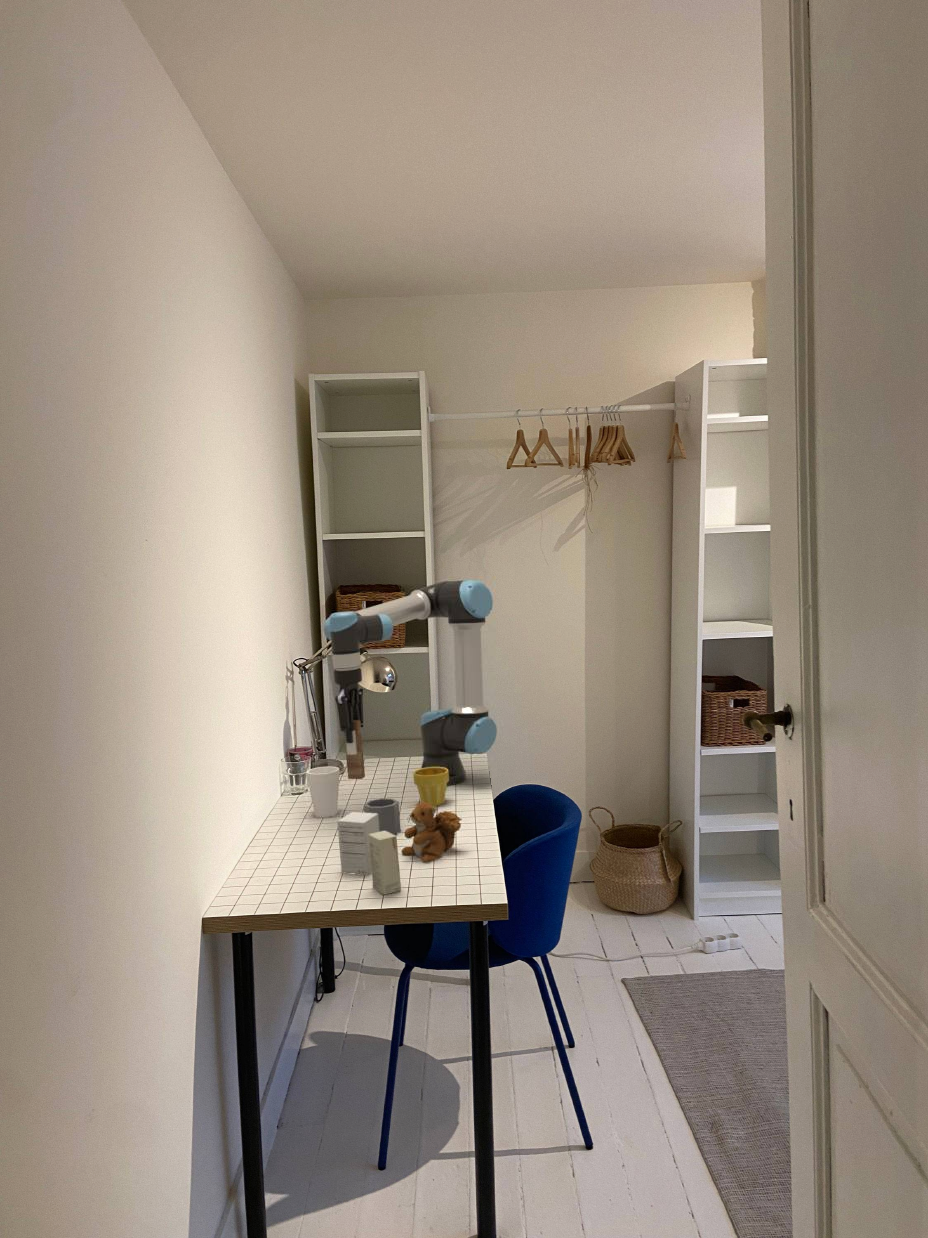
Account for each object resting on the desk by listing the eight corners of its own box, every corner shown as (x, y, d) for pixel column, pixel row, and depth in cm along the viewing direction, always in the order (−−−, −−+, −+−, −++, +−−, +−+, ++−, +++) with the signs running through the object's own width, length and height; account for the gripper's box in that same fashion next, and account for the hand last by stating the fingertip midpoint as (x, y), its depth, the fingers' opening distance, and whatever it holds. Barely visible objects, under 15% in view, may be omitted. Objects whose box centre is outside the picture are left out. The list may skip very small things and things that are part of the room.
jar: (375, 827, 241) (373, 798, 240) (404, 828, 238) (402, 799, 237) (361, 837, 232) (359, 807, 232) (392, 838, 230) (389, 808, 229)
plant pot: (428, 810, 253) (426, 777, 253) (408, 803, 262) (406, 771, 261) (457, 803, 259) (455, 770, 259) (437, 796, 268) (435, 765, 267)
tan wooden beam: (351, 776, 245) (347, 720, 244) (365, 776, 244) (360, 719, 243) (348, 779, 243) (343, 721, 242) (361, 779, 242) (356, 721, 240)
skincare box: (401, 891, 192) (398, 836, 191) (383, 896, 190) (379, 840, 189) (389, 882, 198) (385, 829, 197) (371, 887, 196) (367, 833, 195)
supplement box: (355, 862, 213) (351, 811, 212) (382, 865, 210) (379, 812, 209) (340, 873, 206) (336, 820, 205) (368, 876, 203) (364, 822, 202)
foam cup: (335, 819, 250) (332, 774, 250) (305, 819, 252) (301, 774, 251) (346, 809, 260) (343, 766, 259) (317, 809, 262) (313, 766, 261)
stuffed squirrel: (398, 855, 216) (394, 802, 215) (446, 842, 224) (443, 791, 223) (418, 865, 208) (415, 811, 207) (468, 851, 215) (465, 799, 215)
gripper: (347, 664, 250) (354, 746, 251) (322, 673, 235) (329, 759, 237) (371, 663, 247) (378, 746, 249) (347, 672, 233) (355, 759, 234)
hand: (354, 752), depth 243 cm, fingers closed on tan wooden beam, 2 cm apart
